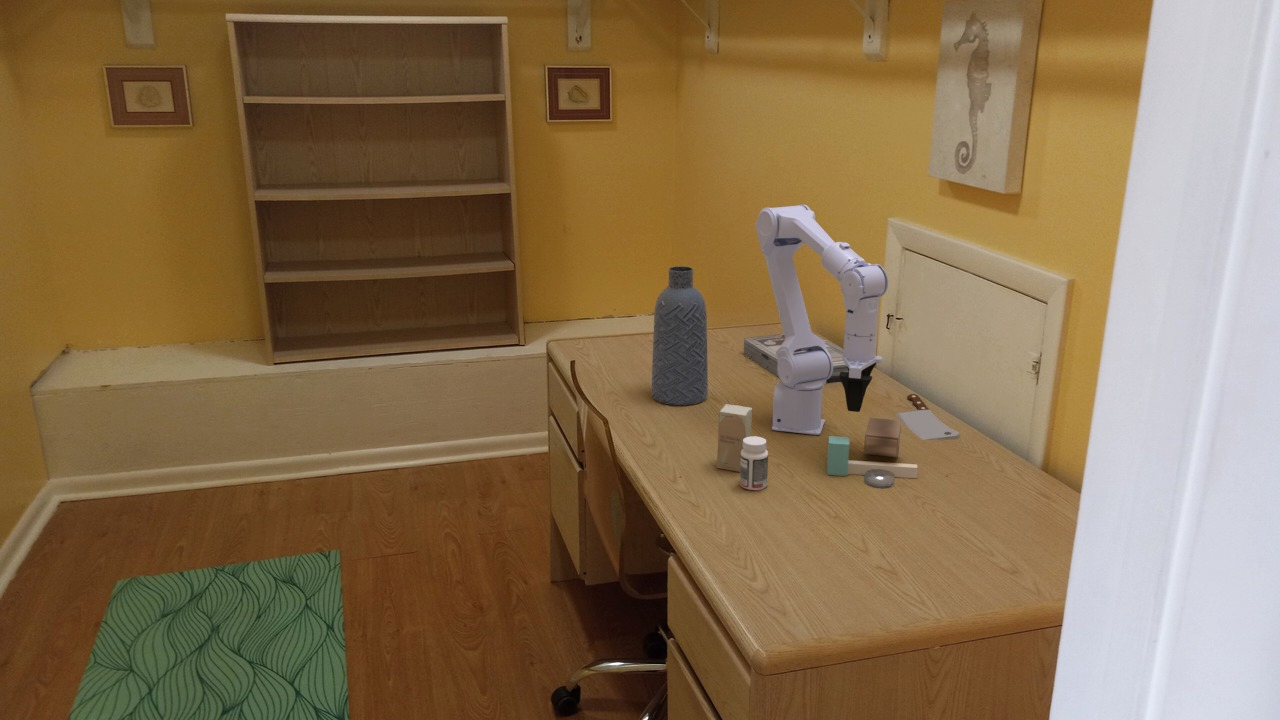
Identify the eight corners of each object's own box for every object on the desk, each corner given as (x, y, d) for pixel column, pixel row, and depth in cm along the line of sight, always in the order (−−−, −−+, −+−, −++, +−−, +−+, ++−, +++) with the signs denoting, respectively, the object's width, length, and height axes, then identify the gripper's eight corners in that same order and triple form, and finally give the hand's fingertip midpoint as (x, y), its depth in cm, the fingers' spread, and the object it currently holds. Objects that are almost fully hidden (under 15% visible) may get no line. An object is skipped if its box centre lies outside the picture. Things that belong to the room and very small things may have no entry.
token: (863, 487, 173) (864, 478, 172) (865, 475, 178) (866, 467, 177) (893, 490, 172) (893, 482, 171) (894, 479, 176) (895, 470, 176)
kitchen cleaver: (879, 395, 216) (926, 392, 216) (879, 400, 216) (926, 397, 216) (911, 439, 193) (962, 436, 193) (910, 444, 193) (962, 441, 193)
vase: (695, 385, 224) (697, 261, 215) (716, 403, 213) (719, 272, 204) (643, 391, 220) (643, 265, 212) (662, 409, 209) (663, 277, 201)
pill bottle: (769, 481, 175) (771, 437, 172) (763, 492, 170) (765, 447, 168) (743, 478, 176) (744, 433, 174) (736, 488, 172) (738, 443, 169)
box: (716, 468, 180) (717, 410, 177) (723, 459, 184) (724, 403, 180) (744, 472, 178) (746, 414, 175) (750, 463, 182) (752, 406, 179)
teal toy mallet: (827, 474, 177) (829, 443, 176) (826, 467, 181) (828, 436, 179) (917, 480, 175) (920, 448, 173) (915, 472, 178) (918, 441, 176)
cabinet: (862, 471, 179) (865, 434, 177) (866, 452, 187) (869, 417, 185) (895, 475, 177) (898, 438, 175) (898, 456, 185) (901, 420, 183)
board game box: (794, 389, 222) (795, 370, 221) (742, 355, 247) (742, 338, 245) (865, 380, 228) (867, 361, 227) (808, 348, 253) (809, 331, 251)
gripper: (880, 345, 171) (875, 419, 176) (886, 323, 185) (881, 393, 189) (838, 342, 173) (834, 415, 178) (847, 320, 187) (843, 389, 191)
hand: (856, 403), depth 183 cm, fingers open, 7 cm apart
